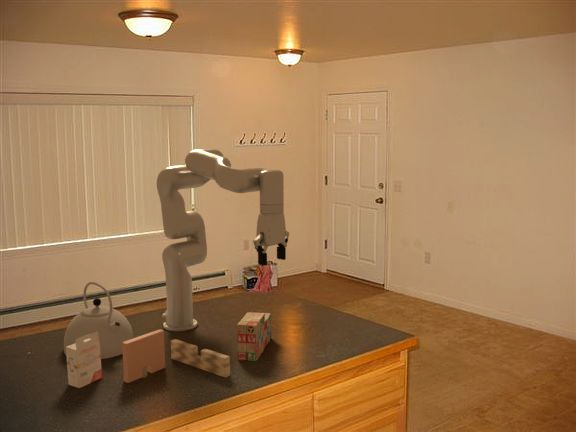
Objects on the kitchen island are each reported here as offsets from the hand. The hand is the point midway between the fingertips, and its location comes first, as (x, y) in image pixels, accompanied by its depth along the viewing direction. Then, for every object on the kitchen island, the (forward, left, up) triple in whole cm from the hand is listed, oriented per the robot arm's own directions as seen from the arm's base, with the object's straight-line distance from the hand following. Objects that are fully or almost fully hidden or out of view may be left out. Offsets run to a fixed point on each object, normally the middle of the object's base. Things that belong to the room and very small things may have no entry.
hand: (272, 262), depth 190 cm
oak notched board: (-12, -22, -31) cm, 40 cm away
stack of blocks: (-8, +1, -31) cm, 32 cm away
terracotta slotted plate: (-21, -36, -31) cm, 52 cm away
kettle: (-50, -31, -31) cm, 66 cm away
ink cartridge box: (-31, -50, -31) cm, 66 cm away
